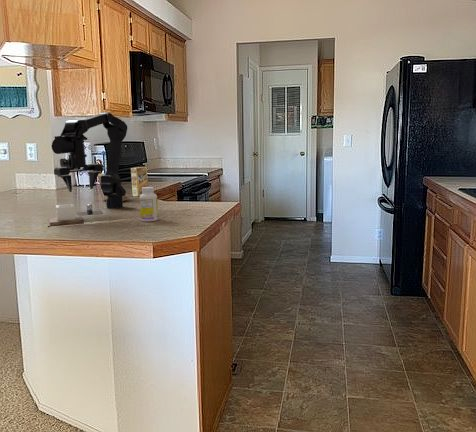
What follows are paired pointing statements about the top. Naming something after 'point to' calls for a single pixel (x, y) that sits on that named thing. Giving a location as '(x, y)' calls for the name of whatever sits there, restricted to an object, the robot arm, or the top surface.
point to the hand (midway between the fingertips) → (81, 190)
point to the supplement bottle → (148, 205)
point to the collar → (65, 212)
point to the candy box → (139, 180)
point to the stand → (89, 211)
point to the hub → (66, 221)
